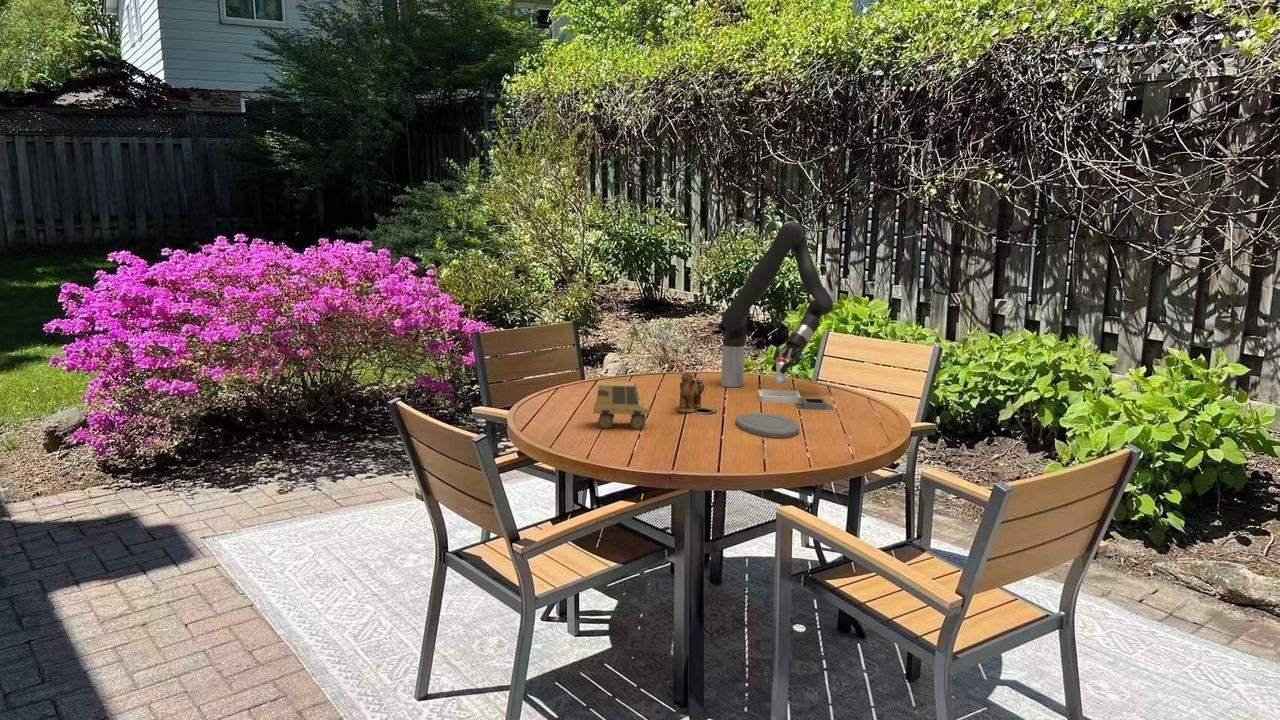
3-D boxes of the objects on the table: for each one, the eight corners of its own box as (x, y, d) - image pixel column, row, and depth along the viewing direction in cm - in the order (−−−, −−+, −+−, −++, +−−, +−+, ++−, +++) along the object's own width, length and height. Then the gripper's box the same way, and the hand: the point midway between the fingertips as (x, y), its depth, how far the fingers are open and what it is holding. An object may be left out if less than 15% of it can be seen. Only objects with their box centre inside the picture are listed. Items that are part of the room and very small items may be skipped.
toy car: (648, 430, 300) (649, 387, 297) (592, 429, 301) (593, 386, 298) (648, 422, 310) (649, 381, 307) (594, 421, 311) (595, 379, 308)
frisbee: (763, 441, 290) (763, 434, 289) (723, 421, 314) (724, 414, 314) (814, 436, 298) (815, 428, 297) (772, 417, 322) (772, 410, 322)
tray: (760, 403, 340) (760, 396, 340) (757, 396, 352) (758, 389, 351) (800, 404, 340) (801, 397, 339) (797, 398, 351) (797, 390, 351)
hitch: (796, 410, 330) (797, 403, 330) (793, 405, 339) (794, 397, 339) (834, 411, 330) (834, 404, 329) (830, 406, 339) (830, 398, 338)
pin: (775, 383, 343) (776, 358, 341) (774, 381, 346) (775, 356, 345) (786, 383, 342) (787, 358, 340) (785, 381, 346) (786, 356, 344)
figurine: (671, 413, 323) (672, 373, 321) (684, 404, 337) (685, 366, 335) (696, 416, 320) (697, 375, 317) (707, 406, 334) (709, 368, 331)
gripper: (782, 329, 351) (759, 362, 346) (809, 334, 340) (786, 368, 335) (791, 341, 355) (768, 374, 350) (818, 346, 344) (795, 380, 339)
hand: (777, 371), depth 342 cm, fingers closed on pin, 4 cm apart
